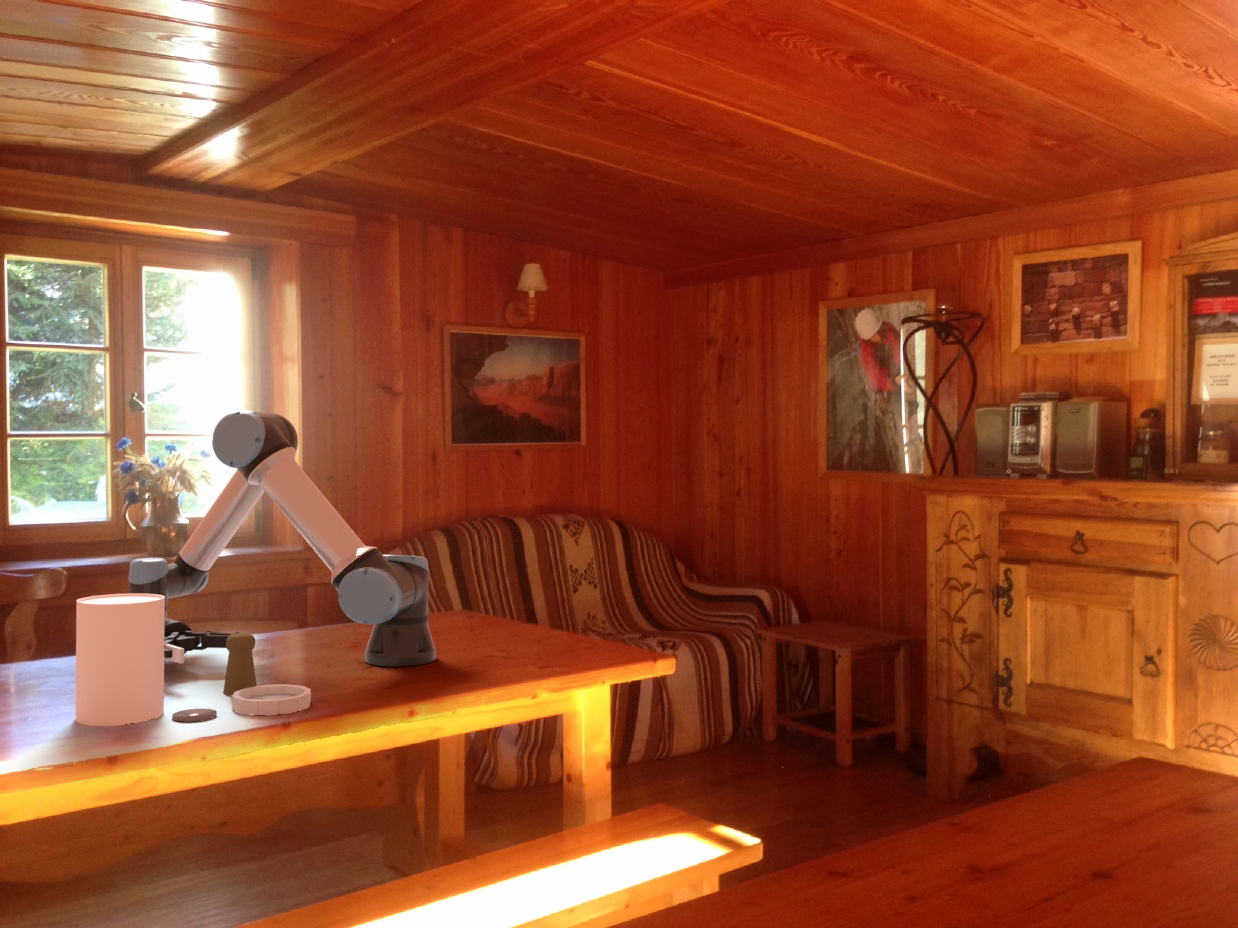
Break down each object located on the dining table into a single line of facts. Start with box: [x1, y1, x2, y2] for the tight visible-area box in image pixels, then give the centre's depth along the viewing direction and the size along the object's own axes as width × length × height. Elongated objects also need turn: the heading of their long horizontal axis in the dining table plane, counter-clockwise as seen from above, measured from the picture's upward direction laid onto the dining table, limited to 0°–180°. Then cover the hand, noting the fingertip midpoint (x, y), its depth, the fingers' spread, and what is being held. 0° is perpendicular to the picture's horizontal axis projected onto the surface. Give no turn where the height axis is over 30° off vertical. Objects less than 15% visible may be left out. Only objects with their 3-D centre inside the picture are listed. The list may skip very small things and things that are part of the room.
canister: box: [75, 593, 165, 727], centre depth 177 cm, size 14×14×20 cm
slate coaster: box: [171, 708, 218, 723], centre depth 177 cm, size 7×7×1 cm
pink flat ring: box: [231, 683, 312, 716], centre depth 185 cm, size 13×13×2 cm
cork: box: [222, 632, 257, 696], centre depth 196 cm, size 6×6×11 cm
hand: (216, 651), depth 202 cm, fingers open, 13 cm apart
